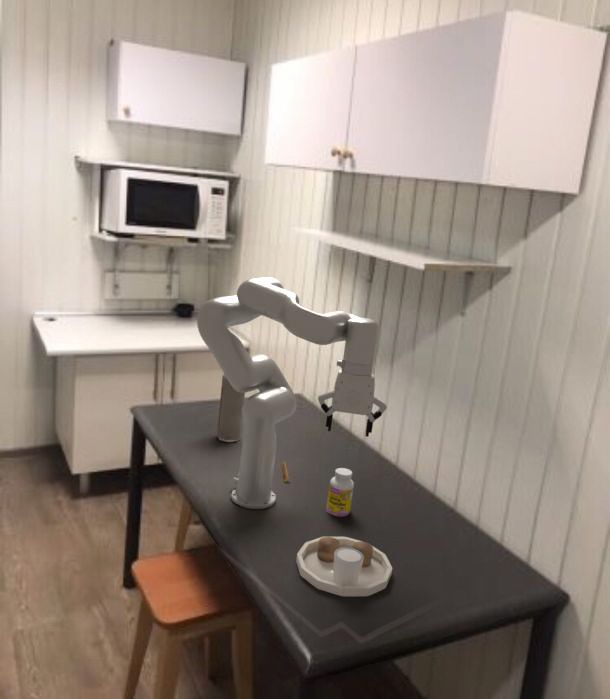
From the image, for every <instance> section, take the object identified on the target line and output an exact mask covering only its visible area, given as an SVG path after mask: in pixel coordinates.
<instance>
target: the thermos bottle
mask: <svg viewBox="0 0 610 699" xmlns="http://www.w3.org/2000/svg"><path fill="white" fill-rule="evenodd" d="M245 395H246V393H239V392H237V391H235V390H234V389H233V387H232V386H231V384H230V383H229V381H228V379H227V378H226V376H225V374H224V373H223V374H222V379H221V389H220V401H219V411H218V421H217V422H218V423H217V431H216V432H217V433H216V437H217V436H218V437H219V438H221V439H224V440H238V439H239V438H240V439H241V437H242V436H241V434H242V427H243V421H242V407H243V404H244V403H245Z"/></svg>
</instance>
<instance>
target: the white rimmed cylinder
mask: <svg viewBox="0 0 610 699" xmlns="http://www.w3.org/2000/svg"><path fill="white" fill-rule="evenodd" d="M363 560H364V556H363V554H362V553H361V552H360V551H358V550H356V549H353V548H348V547H343V548H339V549H337V550H336V551H335V553H334V569H333V582H334V583H336V584H339V585H343V586H357V583H358V579H359V575H360V571H361V568H362V564H363Z"/></svg>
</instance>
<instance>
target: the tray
mask: <svg viewBox="0 0 610 699" xmlns="http://www.w3.org/2000/svg"><path fill="white" fill-rule="evenodd" d="M322 537H323V536H321V537H320V536H319V537H318V538H315V539H313V540H308V541H305V542H304V544H303V545H302V546H301V547H300V549H299V550H298V552H297V554H296V560H295V561H296V565H297V569H298V572H299V575H300V577H302V578H303V579H304V580H306V581H307V582H308V583H309V584H311V585H312V586H313V587H314V588H316V589H317V590H321V591H324V592H327V593H330V594H333V595H336V596H340V597H354V598H355V597H370V596H372V595H374V594H377V593H378V592H381V591H383V590H385V589H387V587H388V584H389V581H390V580H391V576H392V573H393V566H392V565H391V562H390V560H389V559H388V557H387V555H386V553H384V552H383V551H381V550H380V549H378V548H376V547H375V546H373V545H371V544H370V543H368V542H367V543H368V544H370V545H371V546H372V547H373V552H372V558H371V564H370V566H368V567H362V568H361V571H360V575H359V579H358V583H357V586H343V585H339V584H336V583H334V582H333V569H334V562H324V561H321V560H320V559H319V558H318V557H317V553H318V546H319V540H320V539H321V538H322ZM331 537H332V538H335V539H337V540H338V541H339V543H340V545H339V548H343V547H348V548H352V545H353V543H355V542H363V541H362V540H359V539H355V538H351V537H348V536H331Z"/></svg>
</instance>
